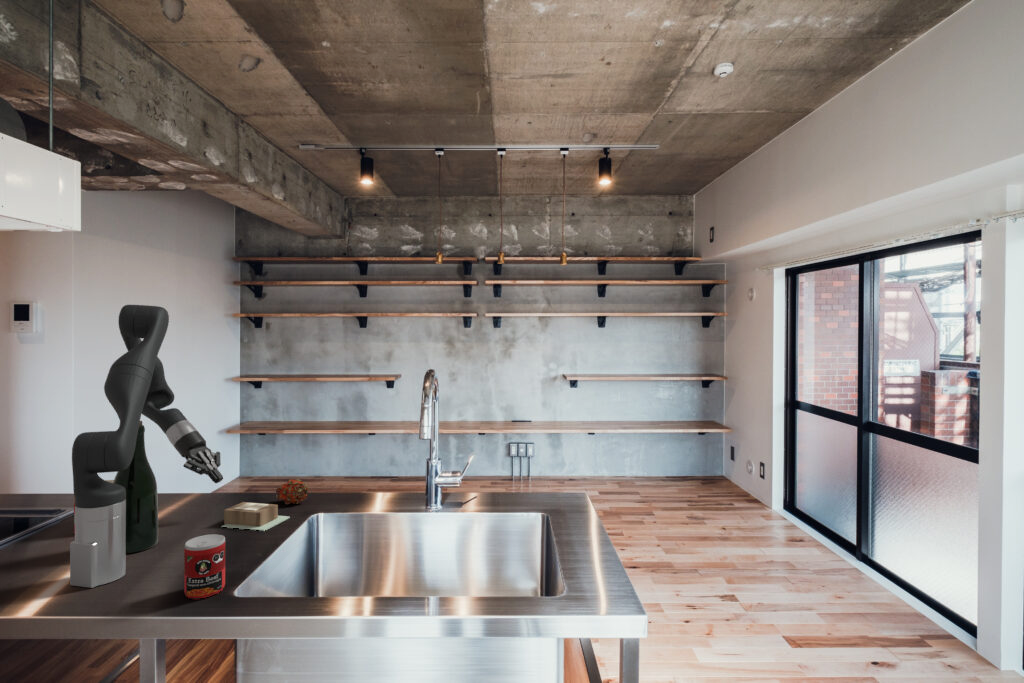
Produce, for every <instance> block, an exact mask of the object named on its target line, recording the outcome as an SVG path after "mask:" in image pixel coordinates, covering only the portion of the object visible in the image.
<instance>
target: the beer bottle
mask: <svg viewBox="0 0 1024 683" xmlns="http://www.w3.org/2000/svg"><path fill="white" fill-rule="evenodd" d="M145 431H146V428H145V425H143V421H142V420H140V423H139V428H138V434H137V440H136V446H135V451H134V455H133V459H132V461H131V464H130V465H129V467H128V468H127V469H125V470H123V471H118V472H116V475H115V477H114V479H113V480H114V481H113V483H114V484H118V485H121V486H123V487H124V488H125V490H126V555H127V554H134V553H138V552H142V551H146V550H149V549H151V548H153V547H154V546H156V545H157V543H158V542H159V507H158V506H159V504H158V502H159V501H158V485H157V484H158V483H157V480H156V479H157V478H156V476H155V474H154V471H153V468H152V467H151V465H150V463H149V460H148V457H147V453H146V452H147V451H146V446H145V445H146V444H145Z"/></svg>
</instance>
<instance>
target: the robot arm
mask: <svg viewBox="0 0 1024 683" xmlns="http://www.w3.org/2000/svg"><path fill="white" fill-rule="evenodd" d="M169 323H170V315H169V312H168V310H166V308H165V307H162V306H158V305H144V304H125V305H124V306H122V307H121V309H120V312H119V314H118V328H119V332H120V335H121V337H122V338H121V339H122V340H123V342H124V345H125V347H126V350H127V351H126V352H125V353H123V354H122V355H120V356H119V357H118V358H117V359H116V360H114V362H113V363H112V365H111V366H110V368H109V370H108V373H107V376H106V380H105V382H104V386H103V390H104V394H105V396H106V399H107V400H108V402H109V404H110V406H112V408H113V410H114V411H115V413H116V415H117V417H118V419H119V427H118V429H115V430H110V431H109V430H105V431H88V432H86V431H85V432H82V433H80V434H78V435H77V436H76V437H75V439H74V441H73V444H72V447H71V466H72V467H71V468H72V482H73V483H72V486H73V488H72V489H73V498H74V497H75V535H74V540H73V541H71V542H70V543H69V544H70V546H69V554H70V556H69V561H70V562H69V585H70V586H75V587H83V588H89V589H91V588H96V587H97V586H98V587H99V586H101V585H105V584H108V583H112V582H115V581H116V580H120V579H121V578H123V577H124V576H125V575H126V570H127V569H126V564H127V563H126V556H127V554H126V490H125V488H124V487H123V486H121V485H118V484H114V483H110V482H108V481H105V480H106V479H103V478H102V477H101V476H99V474H100V473H101V474H103V473H115V472H116V473H117V472H118V471H123V470H125V469H127V468H128V467H129V465H130V464H131V461H132V459H133V455H134V451H135V446H136V440H137V434H138V428H139V423H140V421H141V417H142V415H143V416H145V417H146V418H148V419H149V420H150V421H152V422H153V423H155V424H156V425H157V426H158V427H159V428H160V429H161V431H162V432H163V433H164V434H165V436H166V438H167V439H168V441H169V443H171V445H172V446H173V447H174V448H175V451H177V452H178V454H179V455H180V456H181V458H185V460H186V461H185V463H184V464H183V467H184V468H185V469H188V470H189V471H191V472H193V473H196V474H198V475H200V476H202V475H206V476H208V477H209V479H210V480H211V481H212V483H214V484H218V483H221V481H222V480H223V479H224V477H223V474H222V473H221V471H219V469H218V468H219V467H220V466H221V464H222V463H221V452H220V451H216V452H213V451H212V450H211V449H210V447H209V448H208V447H207V441H206V440H205V438H204V437H203V436H202V434H201V433H200V432H199V431H198V430H197V428H196V427H195V426H194V425H193V423H191V422H190V421H189V420H188V419H187V418H186V416H185V415H184V414H183V412H182V411H181V410H180V409H178V408H176V407H172V408H167V409H164V408H166V407H169V406H171V405H172V404H173V402H174V401H175V393H174V392H173V390H172V389H171V387H170V386H169V385H168V382H167V380H166V376H165V375H166V374H165V370H164V365H163V362H162V361H161V359H160V358H159V356H158V354H159V352H160V349H161V347H162V345H163V342H164V340H165V337H166V334H167V331H168V328H169ZM142 339H143V340H142Z"/></svg>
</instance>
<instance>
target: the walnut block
mask: <svg viewBox="0 0 1024 683" xmlns="http://www.w3.org/2000/svg"><path fill="white" fill-rule="evenodd" d="M278 507H279V505H278V504H273V503H262V502H261V503H259V502H247V501H242V502H240V503H238V504H237V503H236V504H235V505H232V506H230V507H228V508H226V509H224V510H223V512H224V514H223V518H224V519H223V525H225V524H234V525H246V526H257V527H261V526H263V525H265V524H267V523H269V522H271V521H273V520H275V519H277V518H278V516H279V513H278V512H279V508H278Z"/></svg>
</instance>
